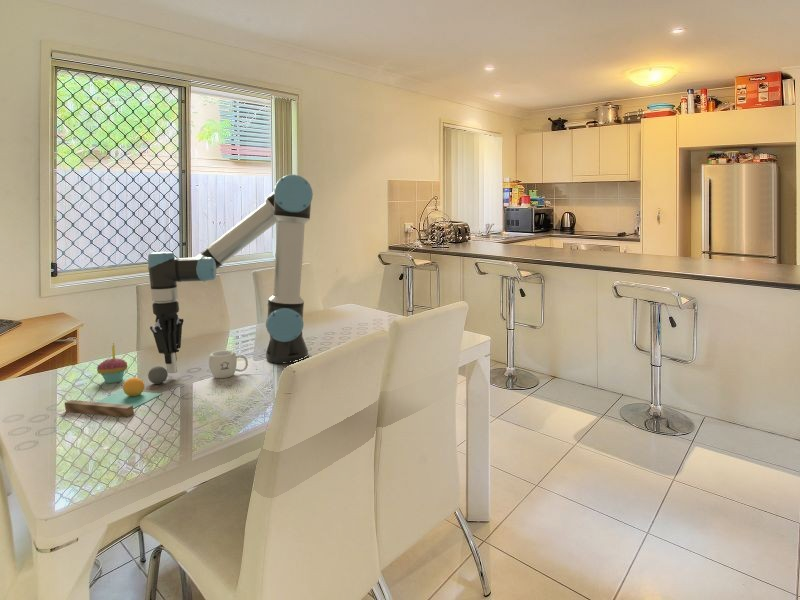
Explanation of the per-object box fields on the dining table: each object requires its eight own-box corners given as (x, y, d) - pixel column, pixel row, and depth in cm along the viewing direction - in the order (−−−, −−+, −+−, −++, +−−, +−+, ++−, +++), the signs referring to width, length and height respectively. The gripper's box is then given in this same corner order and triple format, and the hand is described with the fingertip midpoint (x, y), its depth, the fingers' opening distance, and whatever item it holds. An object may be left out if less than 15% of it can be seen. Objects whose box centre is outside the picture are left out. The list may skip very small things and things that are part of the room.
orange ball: (144, 374, 141) (132, 386, 137) (151, 388, 144) (139, 401, 139) (128, 373, 142) (115, 385, 138) (135, 387, 145) (123, 399, 141)
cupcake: (107, 376, 159) (103, 341, 157) (134, 375, 160) (130, 340, 158) (93, 385, 151) (88, 348, 149) (121, 384, 151) (117, 347, 149)
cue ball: (157, 366, 148) (157, 384, 148) (171, 365, 153) (171, 383, 153) (144, 366, 150) (143, 384, 150) (158, 365, 155) (157, 382, 155)
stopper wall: (133, 414, 128) (132, 405, 128) (128, 417, 126) (127, 408, 126) (72, 408, 132) (71, 399, 132) (65, 411, 131) (64, 402, 130)
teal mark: (162, 394, 143) (162, 393, 143) (125, 412, 129) (125, 412, 129) (122, 390, 146) (122, 390, 146) (82, 408, 132) (82, 408, 132)
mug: (210, 381, 153) (208, 358, 152) (210, 373, 161) (208, 351, 159) (249, 376, 157) (248, 353, 156) (247, 369, 165) (246, 347, 164)
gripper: (169, 297, 160) (175, 365, 164) (139, 304, 147) (147, 378, 151) (188, 297, 158) (194, 366, 162) (161, 305, 146) (168, 379, 150)
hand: (172, 372), depth 157 cm, fingers closed
